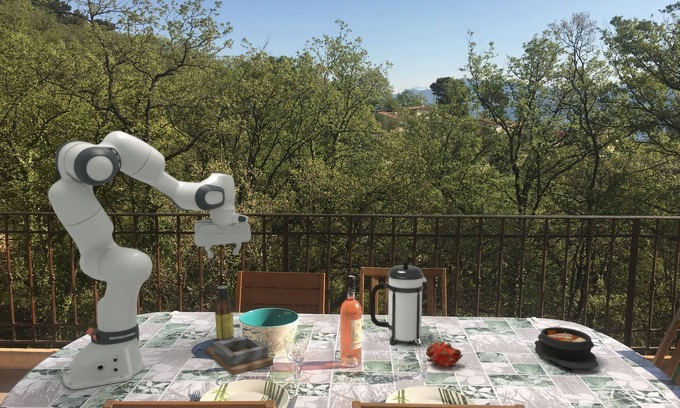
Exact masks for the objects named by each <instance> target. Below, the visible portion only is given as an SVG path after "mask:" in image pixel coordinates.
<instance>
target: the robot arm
mask: <svg viewBox="0 0 680 408" xmlns="http://www.w3.org/2000/svg"><path fill="white" fill-rule="evenodd" d="M55 166H56V167H55V171H56V173H55V175H56V176H57V178H58V179H59V180H57V181H56V182H54V184H52V185H51V186H50V188H49V190H48V193H47V195H48V196H47V197H48V200H49V202H50V205H51V207H52V209H53V211H54V213H55V215H56V217H57V218H58V220H59V221H60V222H61V224H62V225H63V227H64V228H65V230H66V231H67V232H68V234H69V235H70V237H71V238H72V240H73V242H74V243H75V244H76V247H77V248H78V251H79V253H80V258H79V268H80V270H81V271H82V272H83V273H84V275H87V276H88V277H90V278H92V279H95V280H98V281H102V282H106V290H105V293H104V296H103V297H101V298H100V299H99V301H97V305H96V306H97V307H96V308H97V309H96V310H97V311H96V312H97V314H96V315H97V327H96V328H95V329H94V328H93V327H90V328H88V329H87V331H86V332H87V335H88V336H89V337H90V342H89V343H87V344H86V345H85V346H84V347H83V348H82V349H81V350H79V351H78V352H77V353H75V355H74V356H73V358H72V361H71V365H70V369H69V370H66V371H65V372H64V373H63V375H62V384H63V383H64V384H63V385H64V386H65V387H66V388H67V387H68V388H67V389H69V388H70V389H69V390H72V389H73V390H74V389H75V390H74V391H76V389H77V390H81V389H87V388H93V387H99V386H104V385H105V386H106V385H111V384H115V383H116V384H117V383H122V382H126V381H130V380H131V379H132V378H133V377H135V375H137V374H139V373H140V372H141V371H143V370H144V368H145V364H144V361H143V358H142V354H141V350H140V344H139V341H140V325H139V323H138V307H137V306H138V297H139V293H140V289H141V287H142V285H143V284H144V283H145V282H146V281H147V280H148V279H149V277H150V275H151V274H152V270H153V262H152V259H151V257H150V256H149V255H148V254H147V253H145V252H143V251H141V250H139V249H137V248H132V247H131V248H130V247H124V246H120V245H118V244H117V243H116V242H115V241H114V238H113V235H112V234H113V232H114V224H113V221H112V220H111V219H110V217H109V215H108V214H107V213H106V211H105V209H104V208H103V207H102V205H101V203H100V201H99V200H98V198H97V197H96V196H95V193H94V190H93V189H94V188H93V187H95V186H102V185H105V184H107V183H109V182H110V181H111V180H112V179H113V178H114V177H115V175H116V174H117V173H118V172H119V171H120V172H122V173H124V174H126V175H127V176H129V177H131V178H133V179H135V180H137V181H140V182H142V183H145V184H146V185H149V186H150V187H152V188H153V189H155V190H156V191H158V192H160V193H162V194H164V196H166V197H167V198H168V199H169V200H170V202H171V203H172V204H173V205H174V206H175V207H176V208H177V209H179V210H182V211H197V212H198V211H199V212H208V211H209V218H205V219H198V221H196V222H195V223H194V225H193V227H194V242H193V243H194V244H195V246H197V247H200V248H201V247H204V249H205V251H206V252H207V258H208V259H213V258H215V257H214V256H215V255H214V254H215V253H214V252H213V251H211V250H210V249H211V248H212V247H211V246H219V245H220V246H221V245H228V244H235V249H233V250H232V255H234V256H238V255H240V254H239V252H240V251H239V250H240V249H241V247H242V243H248V242H250V240H252V233H251V232H252V231H251V227H250V224H249V223H248V222H249V216H247V215H243V214H240V213H237V212H236V207H235V200H236V187H235V185H236V184H235V180H234V177H233V175H231V174H229V173H225V172H212V173H211V174H210V176H208V177H207V178H206V179H204V180H202V181H200V182H190V181H183V180H182V181H181V180H177V179H176V178H174V177H173V176H171V175H170V174H169V173H167V172H166V171H165V169H166V160H165V156H164V155H163V154H162V153H161V152H160V151H158V150H157V149H156V148H155V147H153V146H152V145H151V144H148V143H147V142H145V141H143V140H142V139H140V138H138V137H136V136H134V135H132V134H129V133H127V132H123V131H121V130H115V131H111V132H110V133H108V134H107V135H106V136H104V138H103V139H102V141H101V142H100V143H98V144H94V143H92V142H91V143H90V142H87V141H82V140H75V139H74V140H69V141H66V142H64V143H63V144H61V145H60V146H59V147H58V148H57V150H56V151H55ZM73 390H72V391H73Z"/></svg>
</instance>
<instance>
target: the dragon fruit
mask: <svg viewBox="0 0 680 408" xmlns="http://www.w3.org/2000/svg"><path fill="white" fill-rule="evenodd" d="M425 355H426V356H427V357H428V358H427V361H428V363H434V366H436V367H437V366H438V367H439V368H440V369H444V367H448V368H450V369H452V368H455V367H456V364H457V363H458V362H459V361H460V360H461V358H462V357H463V356H464V354H463V353H462V352H461V350H460V349H457V348H454V347H452V343H450V342H448V343H445V341H440V342H437V341H433V343H431V344H429V346H427V347H426V351H425Z"/></svg>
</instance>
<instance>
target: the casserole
mask: <svg viewBox="0 0 680 408" xmlns="http://www.w3.org/2000/svg"><path fill="white" fill-rule="evenodd" d="M594 346H595V343H594V342H593V341H592V338H591V336H590V335H589V334H587V333H585V332H583V331H580V330H578V329H573V328H569V327H563V326H562V327H560V326H557V327H556V326H555V327H554V326H553V327H552V326H551V327H545V328H542V330H541V332H540V334H538V335H537V340H535V341H534V347H535V348H534V351H535V352H536V354H538V355H539V356H540V357H542V358H543V359H545V360H548V361H551V362H552V363H556V364H558V365H559V366H562V367H564V368H568V369H574V370H592V369H595V368H599V366H600V364H599V363H598V361H597V356H596V355H595V354H594V353H593V352H592V349H593V348H594Z"/></svg>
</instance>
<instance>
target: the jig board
mask: <svg viewBox="0 0 680 408" xmlns="http://www.w3.org/2000/svg"><path fill="white" fill-rule="evenodd" d="M245 337H246V336H242V337H241V336H235V337H234V338H230V339H225V340H221V341H218V340H217V341H212V346H209V347H206V348H205V353H206V355H208V356H209V357H210V358H212V360H213V361H215V362H216V363H217V364H218V365H219V366H220V367H222V368H223V369H225V370H226V372H228V374H230V375H232V376H235V375H238V374H242V373H246V372H249V371H252V370H253V371H254V370H257V369H260V368H261V369H262V368H264V367H267V366H272V365H274V359H273V358H272V357H270V356H269V347H268V346H267V345H266V344H264V343H262V342H261V341H259V340H258V339H256V340H251V339H248V338H245ZM257 340H258V341H257Z"/></svg>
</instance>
